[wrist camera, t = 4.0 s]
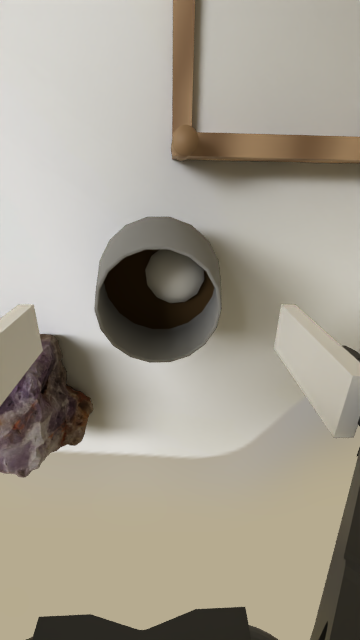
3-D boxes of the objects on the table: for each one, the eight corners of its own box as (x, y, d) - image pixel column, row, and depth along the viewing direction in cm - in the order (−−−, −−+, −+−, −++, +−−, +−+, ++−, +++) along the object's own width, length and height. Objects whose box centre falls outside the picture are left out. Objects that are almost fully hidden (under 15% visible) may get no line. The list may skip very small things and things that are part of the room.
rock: (78, 324, 30) (-21, 337, 30) (45, 357, 22) (-92, 375, 21) (100, 422, 33) (11, 435, 33) (79, 483, 25) (-40, 500, 25)
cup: (193, 195, 24) (211, 200, 15) (224, 295, 28) (253, 347, 19) (89, 235, 25) (46, 264, 16) (133, 327, 29) (118, 392, 20)
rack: (171, 160, 23) (172, 154, 18) (171, -140, 17) (174, -261, 12) (394, 165, 24) (448, 160, 19) (475, -117, 17) (583, -223, 13)
